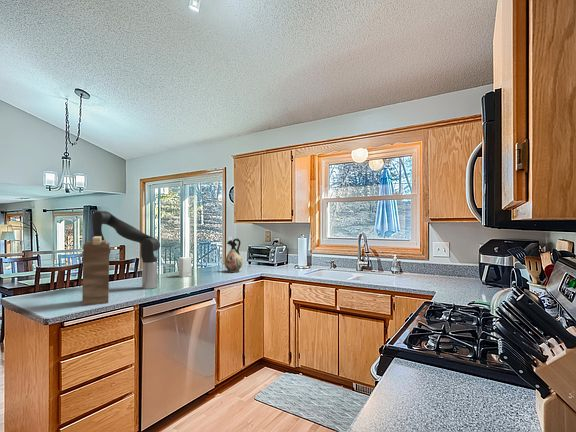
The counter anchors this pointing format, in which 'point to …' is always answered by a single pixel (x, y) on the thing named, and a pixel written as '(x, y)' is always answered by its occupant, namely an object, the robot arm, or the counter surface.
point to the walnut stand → (95, 273)
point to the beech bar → (96, 240)
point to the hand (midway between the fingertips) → (97, 247)
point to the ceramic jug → (233, 257)
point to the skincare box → (184, 266)
